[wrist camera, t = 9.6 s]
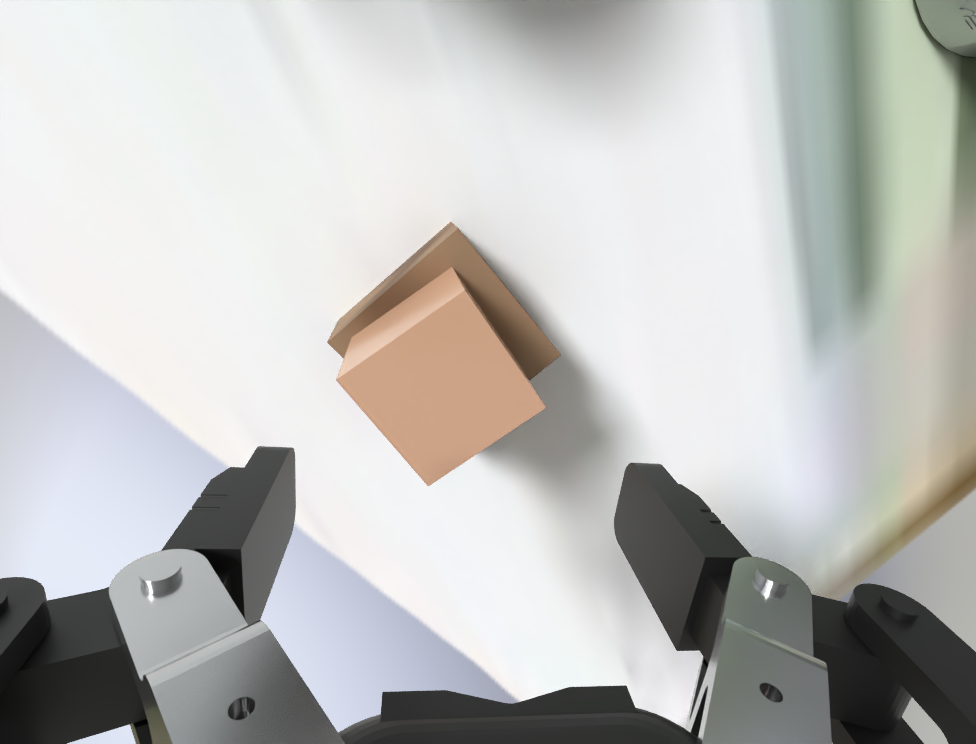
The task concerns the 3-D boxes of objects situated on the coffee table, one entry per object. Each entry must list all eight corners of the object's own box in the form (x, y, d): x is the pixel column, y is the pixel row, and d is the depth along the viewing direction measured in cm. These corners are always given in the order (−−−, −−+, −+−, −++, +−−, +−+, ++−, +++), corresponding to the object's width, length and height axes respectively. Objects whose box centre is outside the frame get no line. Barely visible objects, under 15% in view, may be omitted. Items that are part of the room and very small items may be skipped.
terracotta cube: (452, 266, 21) (464, 290, 16) (517, 361, 23) (546, 407, 18) (351, 337, 21) (335, 379, 17) (424, 425, 23) (428, 486, 18)
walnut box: (450, 221, 24) (457, 228, 20) (539, 330, 27) (560, 354, 23) (339, 318, 25) (327, 342, 21) (436, 416, 27) (440, 453, 24)
